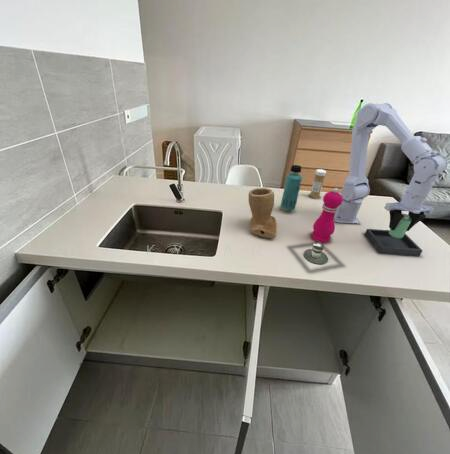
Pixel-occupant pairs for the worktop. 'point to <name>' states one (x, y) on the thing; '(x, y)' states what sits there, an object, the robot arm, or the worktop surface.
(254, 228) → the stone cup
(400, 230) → the mint green cylinder
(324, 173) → the sprinkles bottle
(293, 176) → the beverage bottle
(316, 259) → the pot lid
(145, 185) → the worktop surface
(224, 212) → the worktop surface
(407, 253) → the dark gray rectangular tray
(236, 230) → the worktop surface
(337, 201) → the pepper mill
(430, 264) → the worktop surface
